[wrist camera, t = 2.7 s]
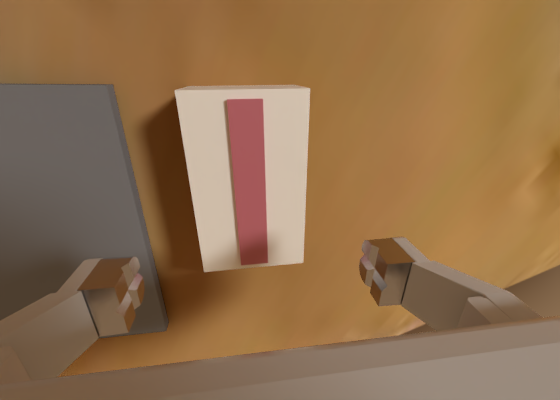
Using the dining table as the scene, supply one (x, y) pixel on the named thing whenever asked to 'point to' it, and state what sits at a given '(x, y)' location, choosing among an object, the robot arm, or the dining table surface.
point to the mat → (68, 195)
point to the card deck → (247, 172)
